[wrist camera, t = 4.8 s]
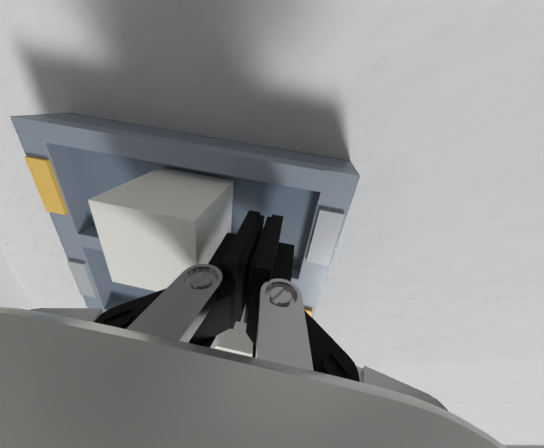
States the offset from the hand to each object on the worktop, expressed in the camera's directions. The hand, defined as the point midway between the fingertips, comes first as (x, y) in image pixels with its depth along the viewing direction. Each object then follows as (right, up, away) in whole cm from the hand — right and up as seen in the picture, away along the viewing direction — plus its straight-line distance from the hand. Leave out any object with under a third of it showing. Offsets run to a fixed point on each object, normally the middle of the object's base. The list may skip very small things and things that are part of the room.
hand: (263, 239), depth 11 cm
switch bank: (-5, -3, +7) cm, 9 cm away
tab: (-4, +2, +2) cm, 4 cm away
